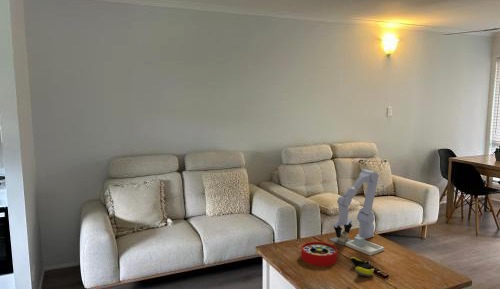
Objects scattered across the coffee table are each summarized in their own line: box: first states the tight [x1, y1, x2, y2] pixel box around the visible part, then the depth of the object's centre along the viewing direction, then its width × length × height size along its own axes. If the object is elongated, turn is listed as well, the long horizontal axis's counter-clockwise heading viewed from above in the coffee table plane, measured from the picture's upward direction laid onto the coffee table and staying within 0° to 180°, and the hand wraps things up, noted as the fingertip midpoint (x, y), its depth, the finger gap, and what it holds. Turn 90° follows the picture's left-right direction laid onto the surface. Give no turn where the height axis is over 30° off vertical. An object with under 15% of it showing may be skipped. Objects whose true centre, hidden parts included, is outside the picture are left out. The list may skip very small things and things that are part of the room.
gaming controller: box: [349, 256, 375, 278], centre depth 195 cm, size 15×6×10 cm
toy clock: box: [300, 241, 338, 267], centre depth 212 cm, size 20×6×20 cm
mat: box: [328, 236, 353, 246], centre depth 237 cm, size 12×12×1 cm
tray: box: [345, 239, 385, 257], centre depth 226 cm, size 18×13×2 cm
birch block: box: [338, 230, 349, 242], centre depth 237 cm, size 4×4×5 cm
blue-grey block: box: [353, 235, 366, 247], centre depth 229 cm, size 4×4×5 cm
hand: (342, 236), depth 237 cm, fingers open, 7 cm apart
